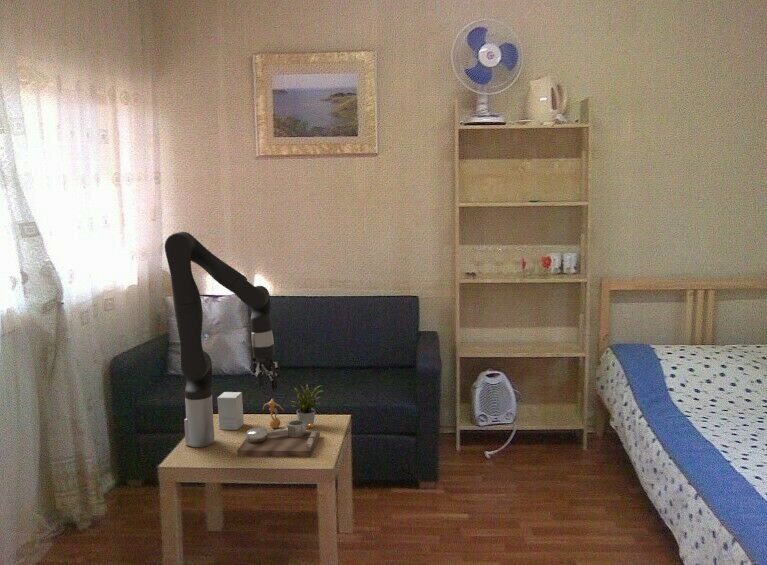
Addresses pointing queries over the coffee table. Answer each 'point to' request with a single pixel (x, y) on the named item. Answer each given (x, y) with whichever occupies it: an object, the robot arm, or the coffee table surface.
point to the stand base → (281, 446)
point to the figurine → (274, 421)
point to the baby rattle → (278, 431)
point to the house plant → (306, 405)
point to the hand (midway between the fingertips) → (267, 388)
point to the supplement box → (230, 410)
